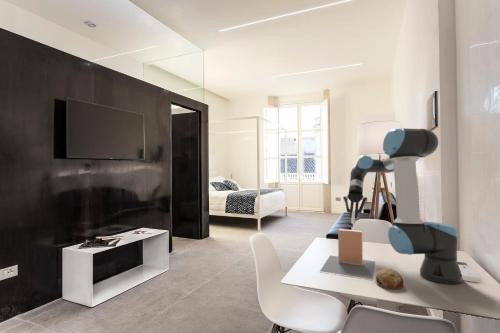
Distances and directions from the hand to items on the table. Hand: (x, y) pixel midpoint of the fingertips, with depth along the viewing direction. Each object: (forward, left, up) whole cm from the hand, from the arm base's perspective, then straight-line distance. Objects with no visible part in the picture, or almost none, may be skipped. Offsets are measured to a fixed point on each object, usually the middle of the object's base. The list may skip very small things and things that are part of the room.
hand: (352, 222), depth 149 cm
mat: (-14, +8, -19) cm, 25 cm away
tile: (-10, +6, -18) cm, 21 cm away
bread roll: (-35, 0, -19) cm, 40 cm away
